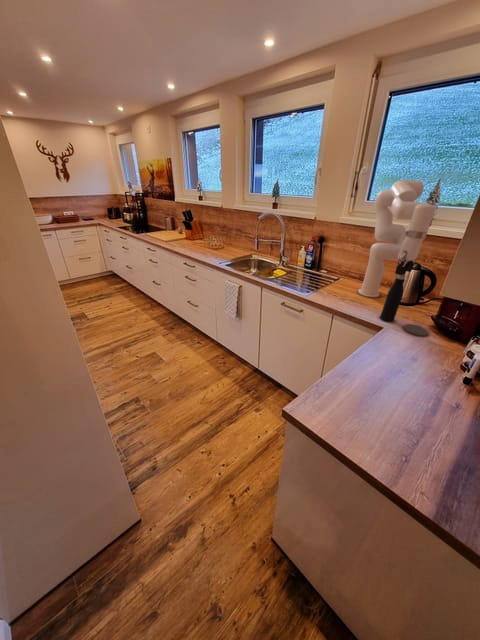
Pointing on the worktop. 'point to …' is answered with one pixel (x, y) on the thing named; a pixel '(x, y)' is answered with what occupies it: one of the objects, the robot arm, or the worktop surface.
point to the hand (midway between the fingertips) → (402, 272)
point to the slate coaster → (415, 330)
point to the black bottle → (394, 297)
